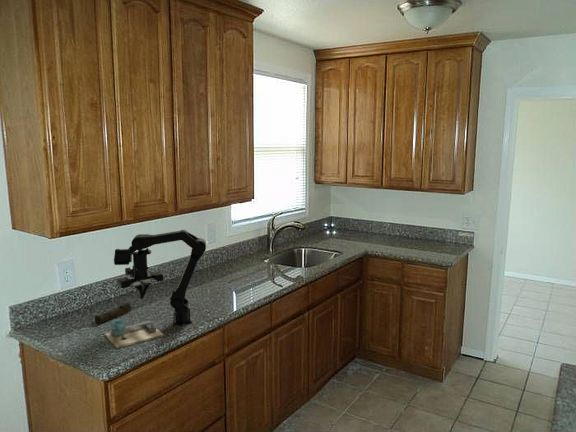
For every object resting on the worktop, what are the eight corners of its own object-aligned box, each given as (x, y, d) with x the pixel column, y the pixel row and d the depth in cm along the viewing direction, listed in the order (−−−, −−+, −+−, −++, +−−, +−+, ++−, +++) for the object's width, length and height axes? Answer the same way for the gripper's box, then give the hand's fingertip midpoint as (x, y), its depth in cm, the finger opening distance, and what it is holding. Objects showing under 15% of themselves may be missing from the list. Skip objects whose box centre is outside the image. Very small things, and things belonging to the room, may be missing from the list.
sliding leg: (121, 330, 190) (120, 318, 189) (128, 337, 183) (127, 325, 182) (111, 332, 188) (110, 321, 187) (118, 339, 181) (117, 328, 180)
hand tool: (100, 325, 198) (99, 315, 197) (94, 323, 200) (93, 313, 199) (135, 312, 214) (134, 302, 213) (129, 310, 216) (129, 301, 215)
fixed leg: (150, 326, 195) (150, 318, 194) (156, 331, 190) (155, 323, 189) (145, 328, 193) (144, 319, 193) (150, 332, 189) (150, 324, 188)
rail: (149, 325, 196) (149, 320, 196) (151, 326, 195) (151, 322, 195) (109, 335, 186) (109, 330, 186) (111, 336, 184) (110, 332, 184)
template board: (149, 324, 199) (149, 322, 199) (163, 336, 187) (163, 334, 187) (105, 335, 187) (105, 333, 187) (117, 348, 176) (117, 346, 176)
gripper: (154, 257, 206) (155, 289, 209) (112, 263, 195) (114, 297, 197) (163, 262, 197) (165, 296, 200) (120, 269, 186) (122, 305, 189)
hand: (141, 298), depth 197 cm, fingers closed
